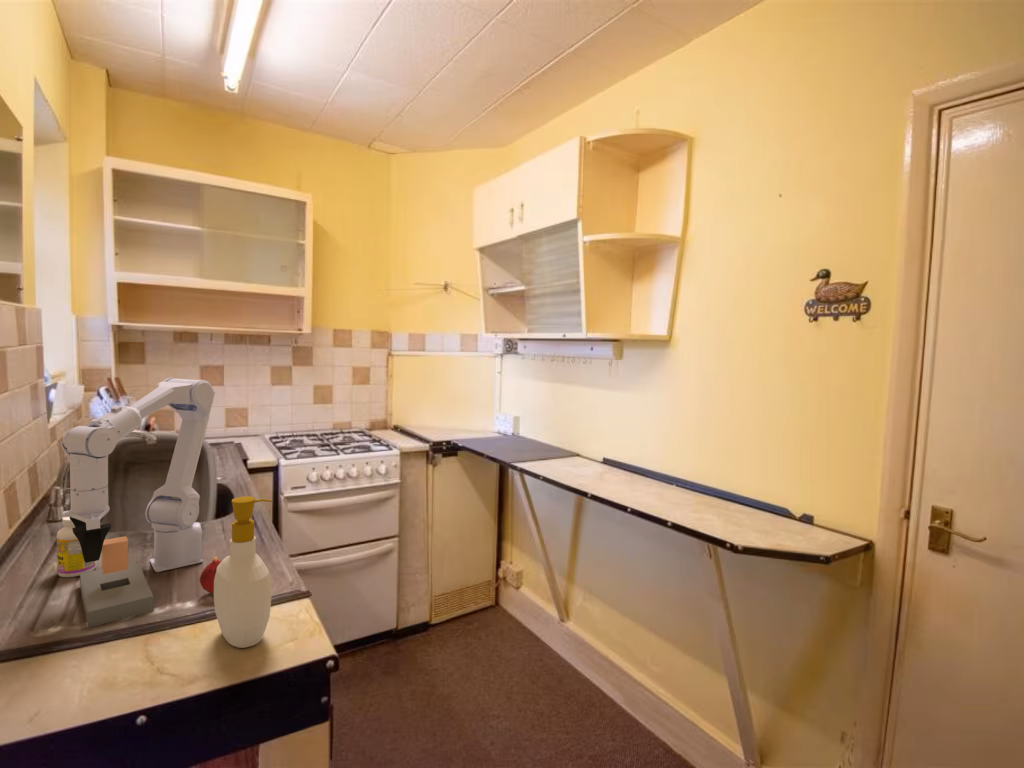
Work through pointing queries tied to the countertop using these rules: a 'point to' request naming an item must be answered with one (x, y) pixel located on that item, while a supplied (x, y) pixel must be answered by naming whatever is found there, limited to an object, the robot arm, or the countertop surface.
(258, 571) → the soap bottle
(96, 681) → the countertop surface
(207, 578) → the onion
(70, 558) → the supplement bottle
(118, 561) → the plug
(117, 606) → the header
